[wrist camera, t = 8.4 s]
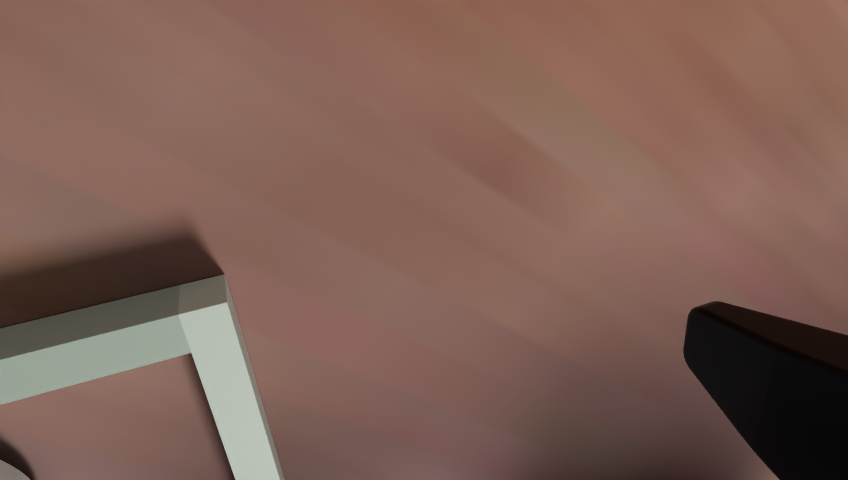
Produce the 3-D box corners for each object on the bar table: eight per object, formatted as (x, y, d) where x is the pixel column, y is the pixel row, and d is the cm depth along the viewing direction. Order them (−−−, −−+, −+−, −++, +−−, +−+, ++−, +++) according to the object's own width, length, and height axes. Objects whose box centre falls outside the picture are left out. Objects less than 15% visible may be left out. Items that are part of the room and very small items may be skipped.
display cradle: (296, 520, 26) (303, 559, 24) (39, 613, 23) (26, 664, 22) (224, 274, 20) (227, 302, 18) (-132, 360, 17) (-167, 402, 16)
